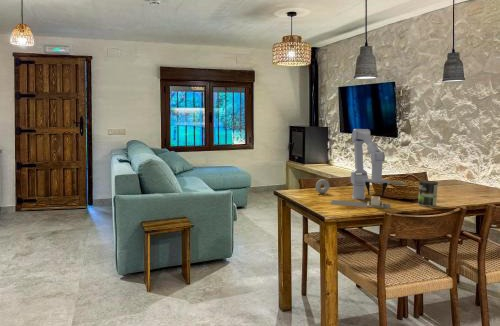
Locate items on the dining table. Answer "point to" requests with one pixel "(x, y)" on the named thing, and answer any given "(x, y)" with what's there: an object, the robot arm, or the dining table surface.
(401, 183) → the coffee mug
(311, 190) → the dining table surface
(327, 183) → the donut
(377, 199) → the card box
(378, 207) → the frame
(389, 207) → the mat
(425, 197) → the coffee can
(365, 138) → the robot arm
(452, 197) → the dining table surface
